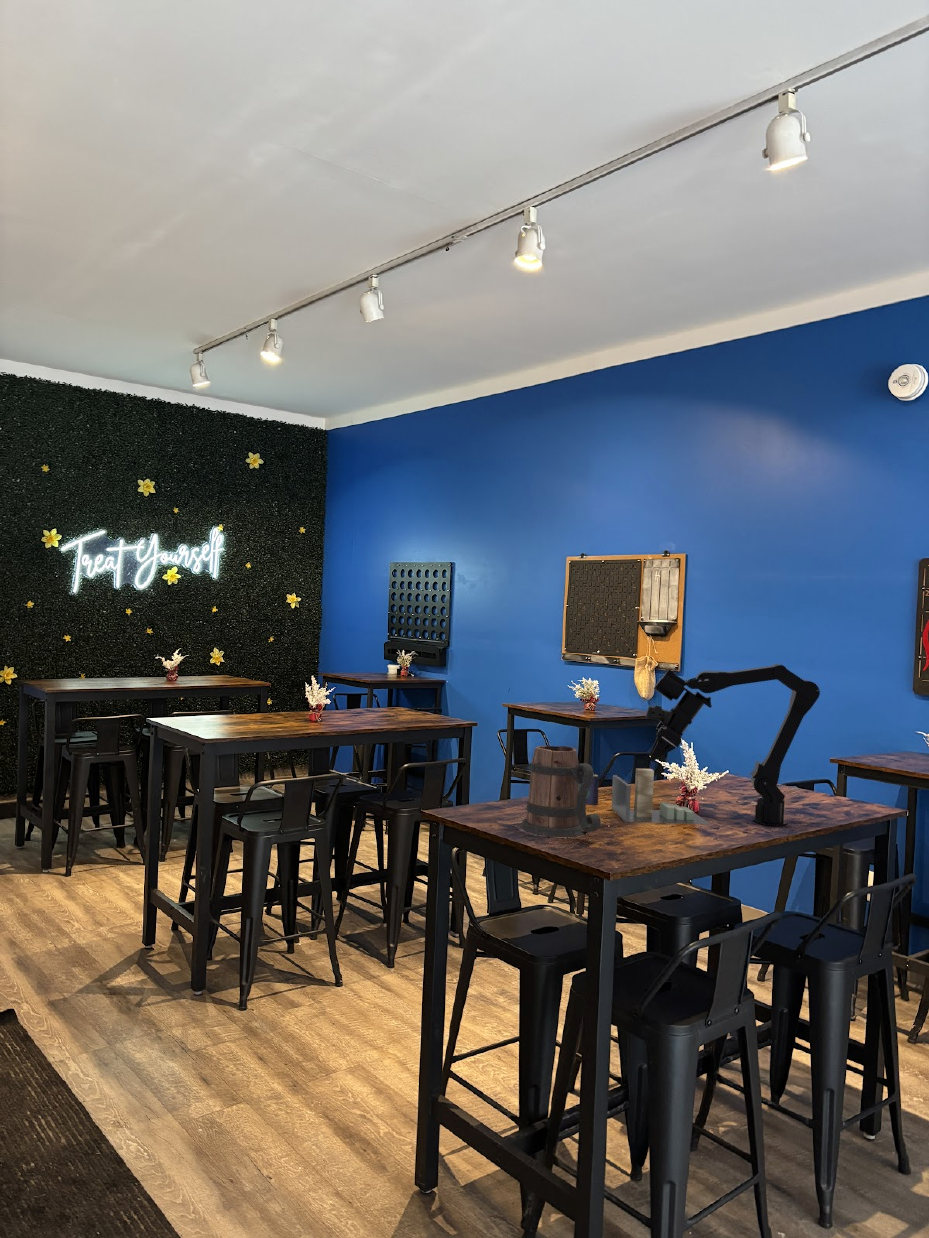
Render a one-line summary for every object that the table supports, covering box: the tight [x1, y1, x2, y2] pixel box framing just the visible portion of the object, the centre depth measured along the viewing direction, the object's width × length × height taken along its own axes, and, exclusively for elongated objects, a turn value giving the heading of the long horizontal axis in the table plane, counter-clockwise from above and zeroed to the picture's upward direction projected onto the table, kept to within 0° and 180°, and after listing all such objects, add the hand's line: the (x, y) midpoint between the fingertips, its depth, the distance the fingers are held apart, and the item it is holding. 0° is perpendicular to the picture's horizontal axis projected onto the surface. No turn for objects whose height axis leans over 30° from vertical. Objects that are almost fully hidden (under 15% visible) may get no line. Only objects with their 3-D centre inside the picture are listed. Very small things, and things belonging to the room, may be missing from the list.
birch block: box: [633, 767, 655, 817], centre depth 242 cm, size 4×3×12 cm
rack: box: [611, 774, 712, 825], centre depth 242 cm, size 22×16×10 cm
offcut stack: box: [659, 801, 695, 820], centre depth 242 cm, size 7×7×3 cm
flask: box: [579, 769, 600, 806], centre depth 256 cm, size 9×3×11 cm, turn 66°
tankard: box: [519, 745, 602, 838], centre depth 222 cm, size 24×17×20 cm
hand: (650, 758), depth 250 cm, fingers open, 9 cm apart
